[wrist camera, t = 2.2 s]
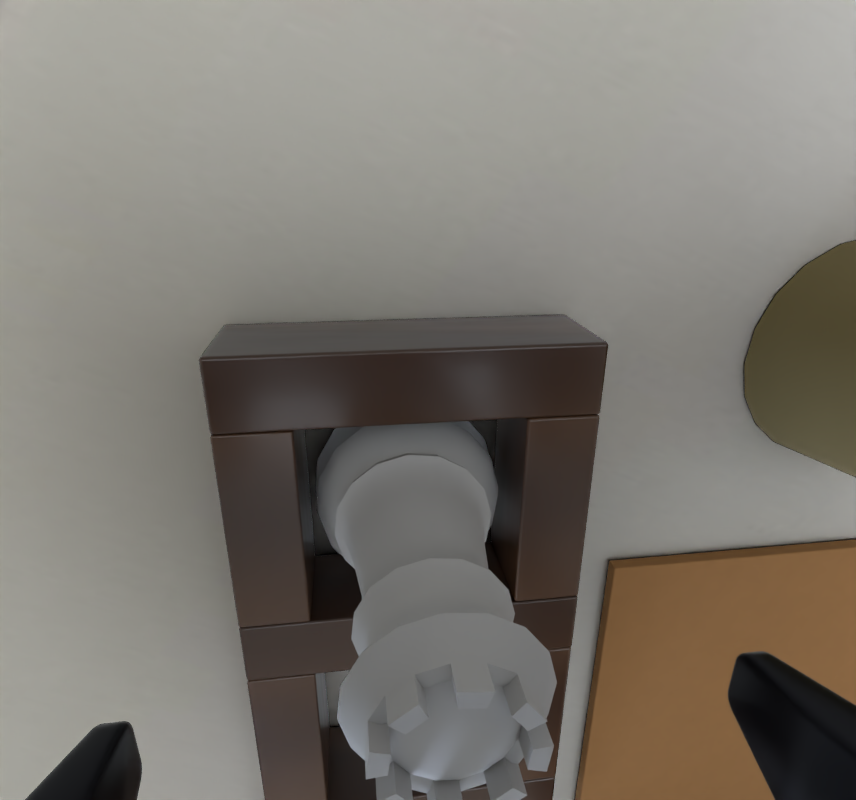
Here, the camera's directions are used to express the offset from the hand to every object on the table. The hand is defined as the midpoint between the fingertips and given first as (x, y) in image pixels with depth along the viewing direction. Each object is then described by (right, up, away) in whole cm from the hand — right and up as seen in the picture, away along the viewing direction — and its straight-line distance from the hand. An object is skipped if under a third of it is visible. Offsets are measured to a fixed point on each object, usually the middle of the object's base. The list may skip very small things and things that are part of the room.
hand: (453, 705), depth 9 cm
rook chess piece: (-1, +3, +7) cm, 7 cm away
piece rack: (-1, -3, +9) cm, 9 cm away
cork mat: (+11, -5, +11) cm, 17 cm away
